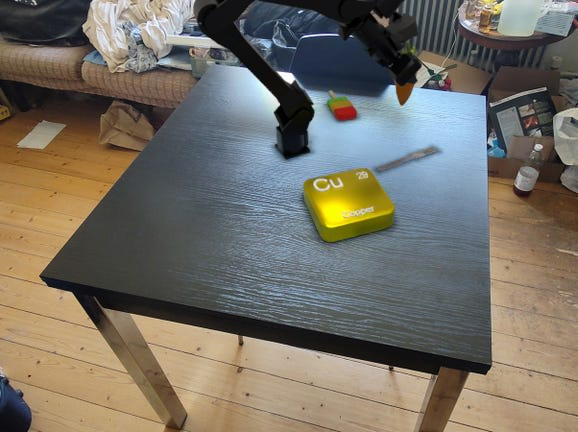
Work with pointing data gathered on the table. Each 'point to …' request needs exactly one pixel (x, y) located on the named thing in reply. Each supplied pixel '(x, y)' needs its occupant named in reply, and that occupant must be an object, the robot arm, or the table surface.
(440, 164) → the table surface
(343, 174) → the element tile
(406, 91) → the carrot
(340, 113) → the popsicle
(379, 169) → the thin grey rod
